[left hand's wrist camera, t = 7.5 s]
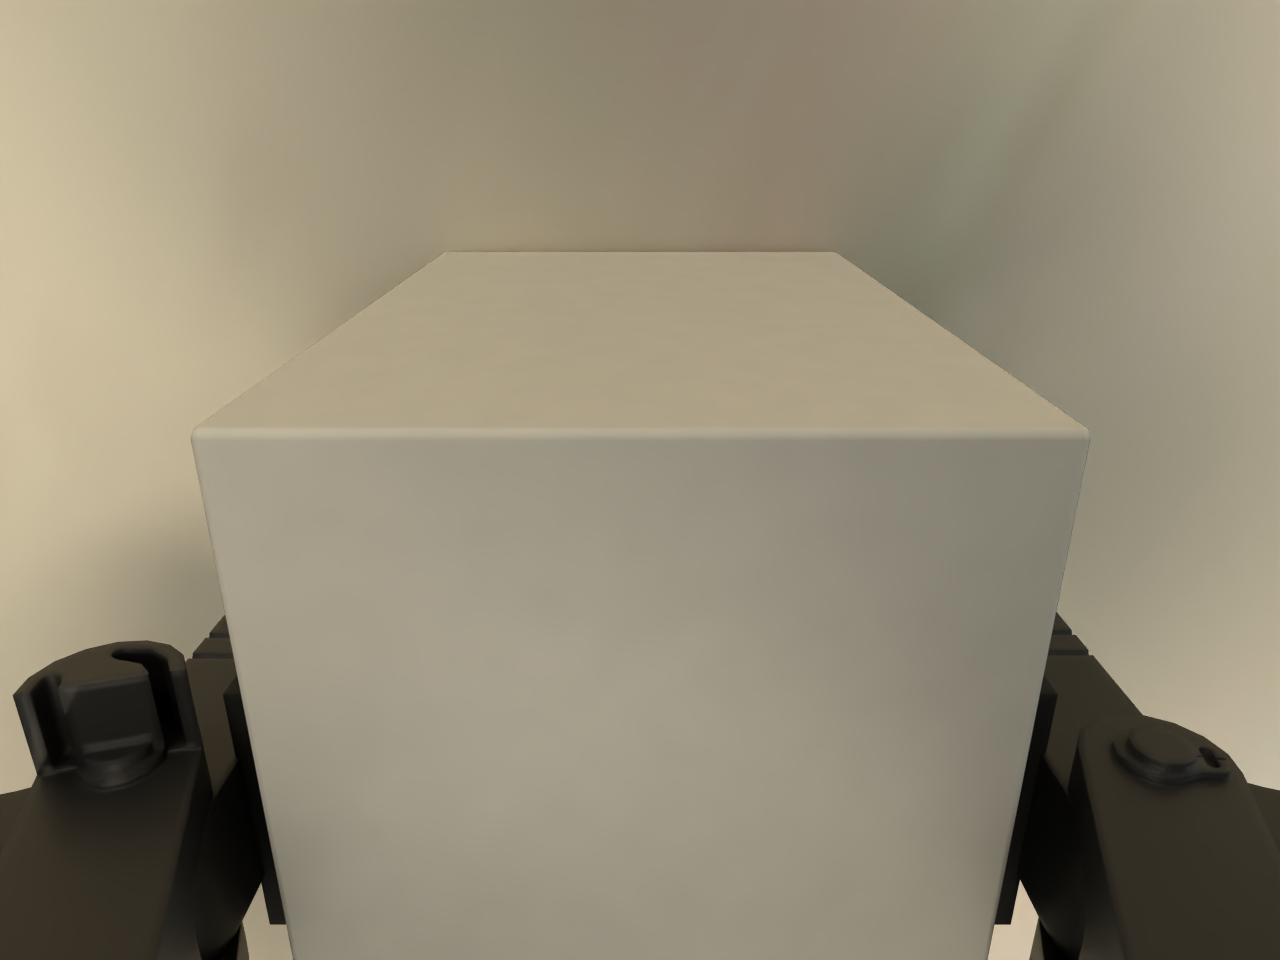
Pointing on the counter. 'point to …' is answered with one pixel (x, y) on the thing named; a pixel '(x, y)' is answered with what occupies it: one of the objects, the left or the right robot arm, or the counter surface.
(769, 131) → the counter surface
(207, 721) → the left robot arm
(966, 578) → the bar
